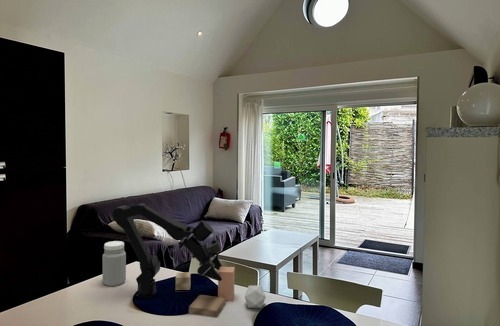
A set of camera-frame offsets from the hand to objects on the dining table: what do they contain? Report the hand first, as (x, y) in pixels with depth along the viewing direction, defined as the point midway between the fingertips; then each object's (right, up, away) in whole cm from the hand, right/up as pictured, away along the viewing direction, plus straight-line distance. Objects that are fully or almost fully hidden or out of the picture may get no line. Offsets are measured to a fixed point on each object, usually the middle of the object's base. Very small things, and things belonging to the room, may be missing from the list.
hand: (222, 275), depth 145 cm
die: (+13, -10, -6) cm, 18 cm away
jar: (-50, -8, +14) cm, 52 cm away
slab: (-5, -10, -9) cm, 15 cm away
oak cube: (-18, -8, +9) cm, 22 cm away
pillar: (+1, -9, +1) cm, 9 cm away
